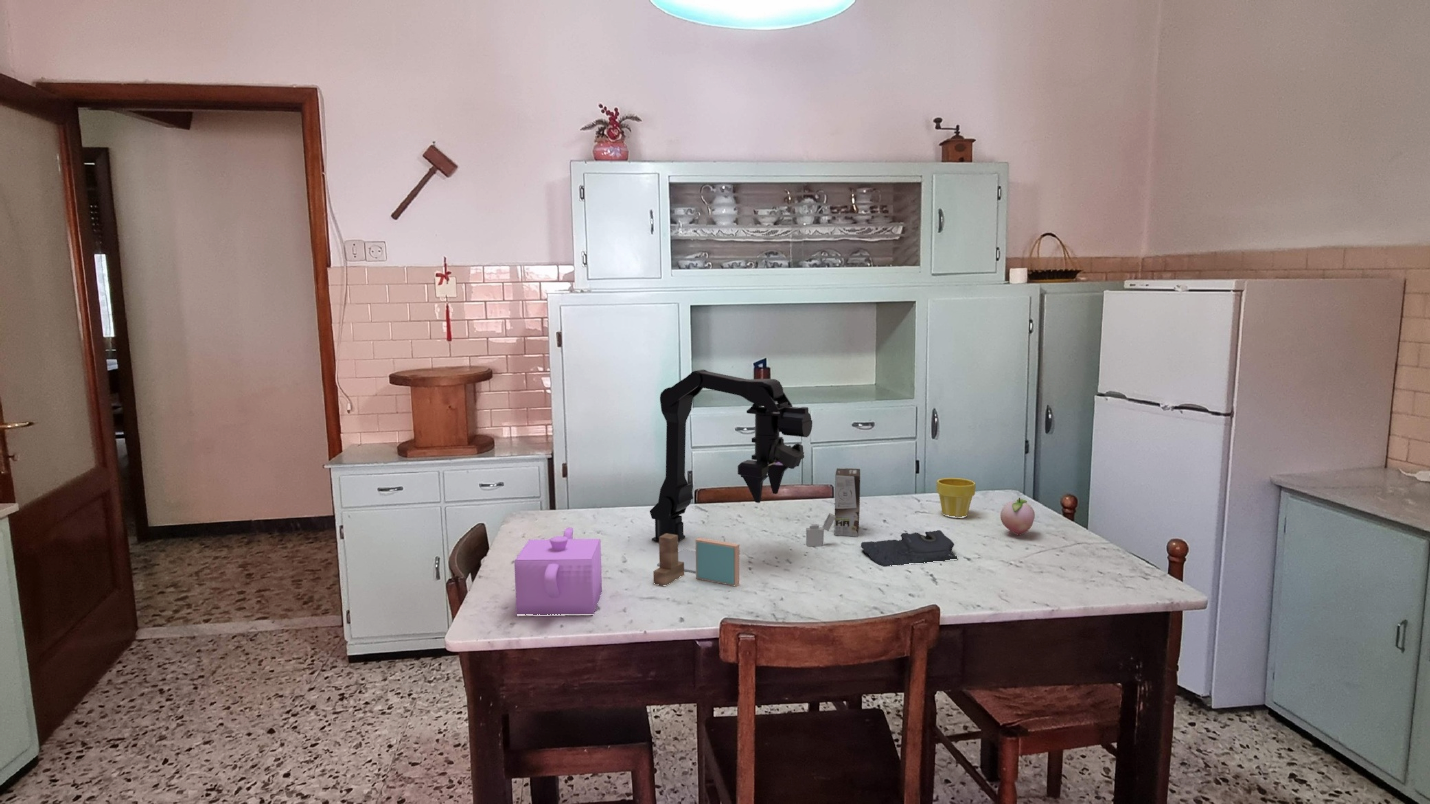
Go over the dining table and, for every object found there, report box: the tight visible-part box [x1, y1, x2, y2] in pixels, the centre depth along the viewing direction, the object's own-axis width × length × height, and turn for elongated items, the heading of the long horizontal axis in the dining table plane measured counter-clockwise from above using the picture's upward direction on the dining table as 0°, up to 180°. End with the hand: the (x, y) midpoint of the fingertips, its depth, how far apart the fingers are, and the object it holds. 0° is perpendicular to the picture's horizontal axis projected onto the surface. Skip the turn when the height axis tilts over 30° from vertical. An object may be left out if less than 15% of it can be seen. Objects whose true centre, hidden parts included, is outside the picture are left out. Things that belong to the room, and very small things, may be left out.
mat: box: [656, 548, 696, 574], centre depth 189 cm, size 12×12×1 cm
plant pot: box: [936, 477, 976, 517], centre depth 226 cm, size 10×10×10 cm
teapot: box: [513, 527, 603, 615], centre depth 165 cm, size 15×25×14 cm, turn 1°
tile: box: [695, 537, 740, 587], centre depth 176 cm, size 10×2×9 cm, turn 61°
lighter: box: [805, 512, 836, 547], centre depth 201 cm, size 7×2×8 cm, turn 95°
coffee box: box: [833, 467, 861, 538], centre depth 211 cm, size 9×6×16 cm
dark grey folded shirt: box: [860, 529, 958, 567], centre depth 194 cm, size 15×22×5 cm
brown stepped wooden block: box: [653, 533, 685, 586], centre depth 177 cm, size 3×8×10 cm, turn 151°
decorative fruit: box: [1000, 497, 1036, 536], centre depth 207 cm, size 9×8×10 cm
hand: (766, 498), depth 190 cm, fingers open, 9 cm apart
